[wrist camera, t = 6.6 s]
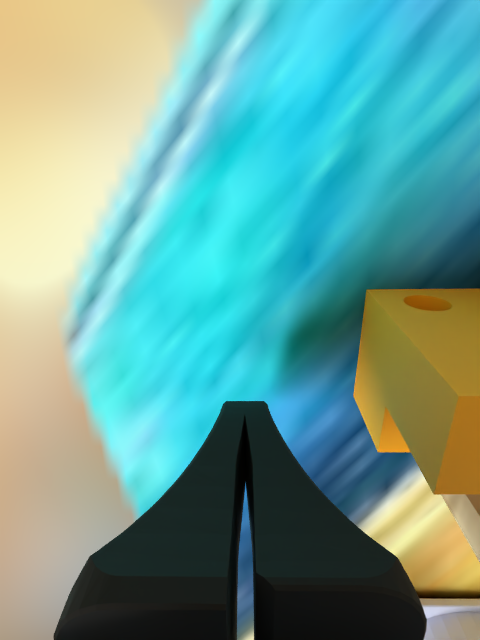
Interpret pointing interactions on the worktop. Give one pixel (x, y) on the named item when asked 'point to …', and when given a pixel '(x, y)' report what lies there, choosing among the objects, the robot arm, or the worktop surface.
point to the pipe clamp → (424, 381)
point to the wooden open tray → (466, 516)
